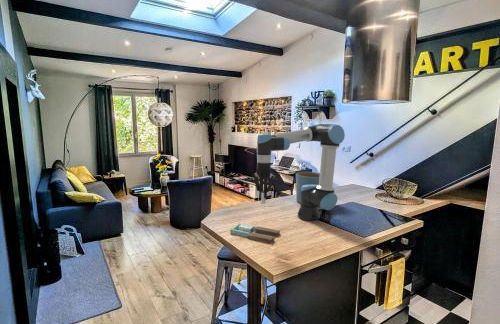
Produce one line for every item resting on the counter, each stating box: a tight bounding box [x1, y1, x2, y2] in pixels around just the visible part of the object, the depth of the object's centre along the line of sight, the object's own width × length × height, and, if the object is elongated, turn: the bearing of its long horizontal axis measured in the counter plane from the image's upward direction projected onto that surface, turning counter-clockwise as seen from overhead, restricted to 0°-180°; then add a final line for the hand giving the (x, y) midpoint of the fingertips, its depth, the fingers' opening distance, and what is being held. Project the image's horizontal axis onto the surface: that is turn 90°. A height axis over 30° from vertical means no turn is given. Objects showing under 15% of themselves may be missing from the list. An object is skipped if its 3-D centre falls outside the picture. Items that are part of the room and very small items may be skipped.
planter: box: [295, 171, 320, 204], centre depth 222 cm, size 23×23×24 cm
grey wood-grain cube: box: [244, 224, 254, 233], centre depth 158 cm, size 4×4×4 cm
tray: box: [229, 222, 257, 238], centre depth 160 cm, size 11×12×3 cm
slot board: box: [247, 226, 281, 244], centre depth 154 cm, size 14×14×3 cm
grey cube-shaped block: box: [238, 223, 248, 231], centre depth 160 cm, size 4×4×4 cm
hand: (263, 203), depth 152 cm, fingers closed
